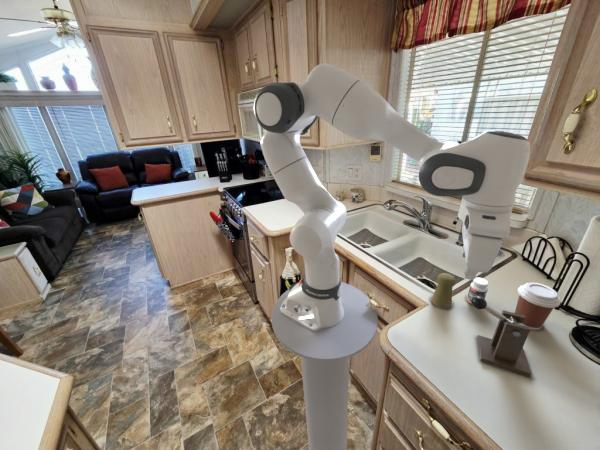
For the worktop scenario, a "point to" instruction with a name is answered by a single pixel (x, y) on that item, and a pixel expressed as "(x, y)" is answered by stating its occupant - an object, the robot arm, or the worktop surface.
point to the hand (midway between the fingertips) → (467, 266)
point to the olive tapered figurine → (444, 291)
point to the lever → (492, 310)
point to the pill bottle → (477, 289)
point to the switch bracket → (506, 346)
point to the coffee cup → (536, 303)
